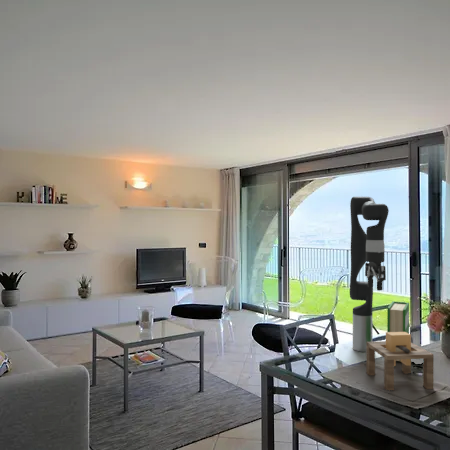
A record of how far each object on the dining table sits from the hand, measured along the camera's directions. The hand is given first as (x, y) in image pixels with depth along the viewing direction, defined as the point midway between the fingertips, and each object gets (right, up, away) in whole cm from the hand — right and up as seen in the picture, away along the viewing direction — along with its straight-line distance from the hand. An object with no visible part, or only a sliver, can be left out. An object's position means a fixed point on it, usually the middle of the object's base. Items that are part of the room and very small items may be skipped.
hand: (374, 288), depth 178 cm
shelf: (+4, -34, -13) cm, 37 cm away
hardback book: (+16, -34, +15) cm, 41 cm away
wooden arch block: (+4, -28, -13) cm, 31 cm away
